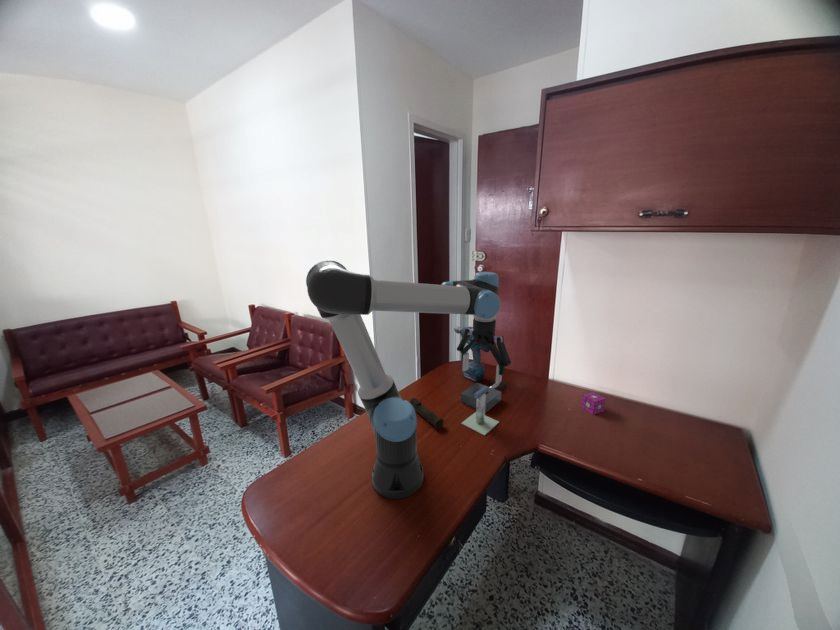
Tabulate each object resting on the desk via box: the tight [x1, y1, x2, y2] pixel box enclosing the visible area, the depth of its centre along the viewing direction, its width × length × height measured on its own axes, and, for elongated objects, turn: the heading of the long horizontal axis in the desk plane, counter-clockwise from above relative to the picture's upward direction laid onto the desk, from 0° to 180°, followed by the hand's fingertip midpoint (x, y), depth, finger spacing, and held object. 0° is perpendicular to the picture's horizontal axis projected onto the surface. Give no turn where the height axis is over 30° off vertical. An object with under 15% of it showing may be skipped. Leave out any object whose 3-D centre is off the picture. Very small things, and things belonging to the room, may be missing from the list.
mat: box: [460, 411, 500, 436], centre depth 115 cm, size 10×10×1 cm
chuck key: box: [474, 385, 490, 425], centre depth 113 cm, size 7×3×14 cm, turn 137°
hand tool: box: [409, 397, 445, 431], centre depth 119 cm, size 19×4×5 cm, turn 34°
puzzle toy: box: [580, 391, 606, 416], centre depth 121 cm, size 6×6×6 cm
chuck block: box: [460, 382, 502, 414], centre depth 131 cm, size 20×12×4 cm, turn 137°
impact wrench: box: [453, 325, 492, 383], centre depth 146 cm, size 8×23×25 cm, turn 40°
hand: (481, 376), depth 109 cm, fingers open, 13 cm apart
